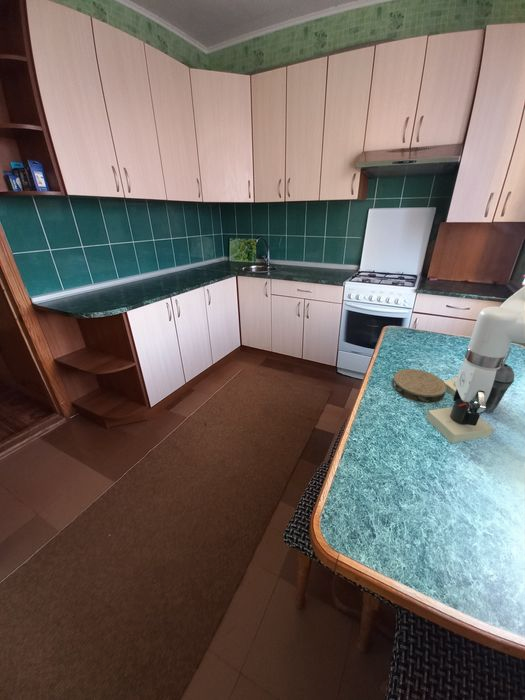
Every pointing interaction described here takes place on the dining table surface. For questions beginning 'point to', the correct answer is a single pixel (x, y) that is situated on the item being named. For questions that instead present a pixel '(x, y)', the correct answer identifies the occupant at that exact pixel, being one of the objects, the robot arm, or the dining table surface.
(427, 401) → the brown cork coaster
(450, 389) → the block
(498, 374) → the beverage cup
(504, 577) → the dining table surface
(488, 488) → the dining table surface
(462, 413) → the timer dial
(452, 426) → the panel
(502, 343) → the robot arm
